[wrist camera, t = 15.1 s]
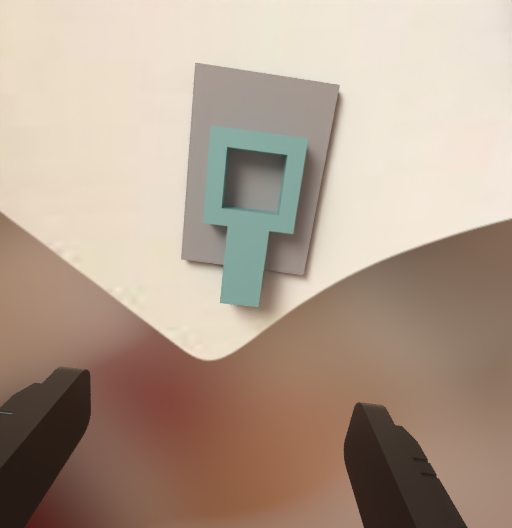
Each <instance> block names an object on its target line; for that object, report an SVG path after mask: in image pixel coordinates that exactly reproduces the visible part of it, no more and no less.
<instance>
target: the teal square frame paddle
mask: <svg viewBox="0 0 512 528" xmlns="http://www.w3.org/2000/svg"><path fill="white" fill-rule="evenodd" d="M307 143H308V138H303V137H295V136H288V135H280V134H273V133H265V132H258V131H250V130H243V129H235V128H228V127H220V126H213V125H211V127H210V140H209V153H208V166H207V179H206V192H205V205H204V219H203V223H206V224H214V225H223V226H228V227H227V237H226V247H225V257H224V267H223V278H222V288H221V298H220V303H225V304H234V305H243V306H252V307H259V301H260V294H261V287H262V279H263V272H264V265H265V257H266V250H267V243H268V235H269V231H272V232H280V233H289V234H293V231H294V225H295V219H296V213H297V206H298V200H299V194H300V187H301V181H302V175H303V168H304V162H305V156H306V150H307ZM229 149H234V150H241V151H249V152H257V153H264V154H272V155H280V156H285V160H284V167H283V174H282V181H281V188H280V195H279V202H278V209H277V212H273V211H265V210H257V209H249V208H241V207H233V206H225V205H224V201H225V190H226V180H227V169H228V158H229Z"/></svg>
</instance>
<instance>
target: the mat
mask: <svg viewBox="0 0 512 528" xmlns="http://www.w3.org/2000/svg"><path fill="white" fill-rule="evenodd" d="M339 86H340V85H336V84H329V83H323V82H316V81H310V80H304V79H297V78H291V77H284V76H278V75H271V74H265V73H258V72H252V71H246V70H239V69H233V68H226V67H220V66H213V65H207V64H200V63H195V75H194V89H193V103H192V117H191V131H190V145H189V159H188V173H187V187H186V201H185V215H184V228H183V242H182V256H181V259H182V260H190V261H198V262H205V263H213V264H221V265H224V257H225V247H226V237H227V227H228V226H223V225H214V224H206V223H203V219H204V205H205V192H206V179H207V166H208V153H209V140H210V127H211V125H213V126H220V127H228V128H235V129H243V130H250V131H258V132H265V133H273V134H280V135H288V136H295V137H303V138H308V143H307V150H306V156H305V162H304V168H303V175H302V181H301V187H300V194H299V200H298V206H297V213H296V219H295V225H294V231H293V234H289V233H280V232H272V231H269V235H268V243H267V250H266V257H265V265H264V270H267V271H275V272H283V273H291V274H298V275H304V271H305V266H306V261H307V255H308V250H309V245H310V239H311V234H312V229H313V223H314V218H315V213H316V208H317V202H318V197H319V192H320V186H321V181H322V176H323V170H324V165H325V160H326V155H327V149H328V144H329V139H330V133H331V128H332V123H333V117H334V112H335V107H336V102H337V96H338V91H339ZM284 160H285V156H280V155H272V154H264V153H257V152H249V151H241V150H234V149H229V158H228V169H227V180H226V190H225V201H224V205H225V206H233V207H241V208H249V209H257V210H265V211H273V212H277V209H278V202H279V195H280V188H281V181H282V174H283V167H284Z"/></svg>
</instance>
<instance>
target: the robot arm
mask: <svg viewBox="0 0 512 528" xmlns="http://www.w3.org/2000/svg"><path fill="white" fill-rule="evenodd" d="M90 396H91V394H90V373H89V371H88V370H86V369H77V368H69V367H59V368H57V369H56V370H55V371H54V372H53V373H52V374H51V375H50V376H49V377H48V378H47V379H46V380H45V381H44V382H43V383H42V384H40V383H34V384H32V385H30V386H28V387H27V388H25V389H23V390H21V391H20V392H18V393H16V394H14V395H13V396H12V397H11V398H10V399H9V400H8V401H7V402H6V403H5V404H4V405H3V406H1V408H0V528H24V527H25V526H26V524H27V523H28V521H29V520H30V518H31V516H32V515H33V513H34V512H35V510H36V509H37V507H38V506H39V504H40V502H41V501H42V499H43V498H44V496H45V495H46V493H47V491H48V490H49V488H50V487H51V485H52V484H53V482H54V481H55V479H56V477H57V476H58V474H59V473H60V471H61V469H62V468H63V466H64V465H65V463H66V462H67V460H68V459H69V457H70V455H71V454H72V452H73V451H74V449H75V448H76V446H77V445H78V443H79V441H80V440H81V438H82V437H83V435H84V433H85V431H86V429H87V426H88V423H89V420H90V415H91V400H90V399H91V398H90ZM344 460H345V465H346V469H347V472H348V475H349V479H350V482H351V485H352V489H353V492H354V495H355V498H356V502H357V505H358V509H359V512H360V516H361V519H362V522H363V526H364V528H467V526H466V524H465V523H464V521H463V519H462V518H461V516H460V514H459V512H458V511H457V509H456V507H455V505H454V504H453V502H452V500H451V499H450V497H449V495H448V494H447V492H446V490H445V488H444V487H443V485H442V483H441V482H440V480H439V479H438V478H437V477H436V473H435V471H434V470H433V468H432V466H431V464H430V463H428V461H427V460H428V459H427V458H426V456H425V454H424V452H423V451H422V449H421V447H420V445H419V444H418V442H417V441H416V440H415V439H414V438H413V437H412V436H411V435H410V434H409V433H408V432H407V431H406V430H405V429H404V428H403V427H402V426H396V425H395V424H394V422H393V420H392V419H391V417H390V415H389V413H388V411H387V409H386V408H385V407H384V406H382V405H376V404H367V403H357V404H356V405H355V407H354V410H353V414H352V417H351V421H350V425H349V428H348V432H347V435H346V438H345V442H344Z"/></svg>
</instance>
